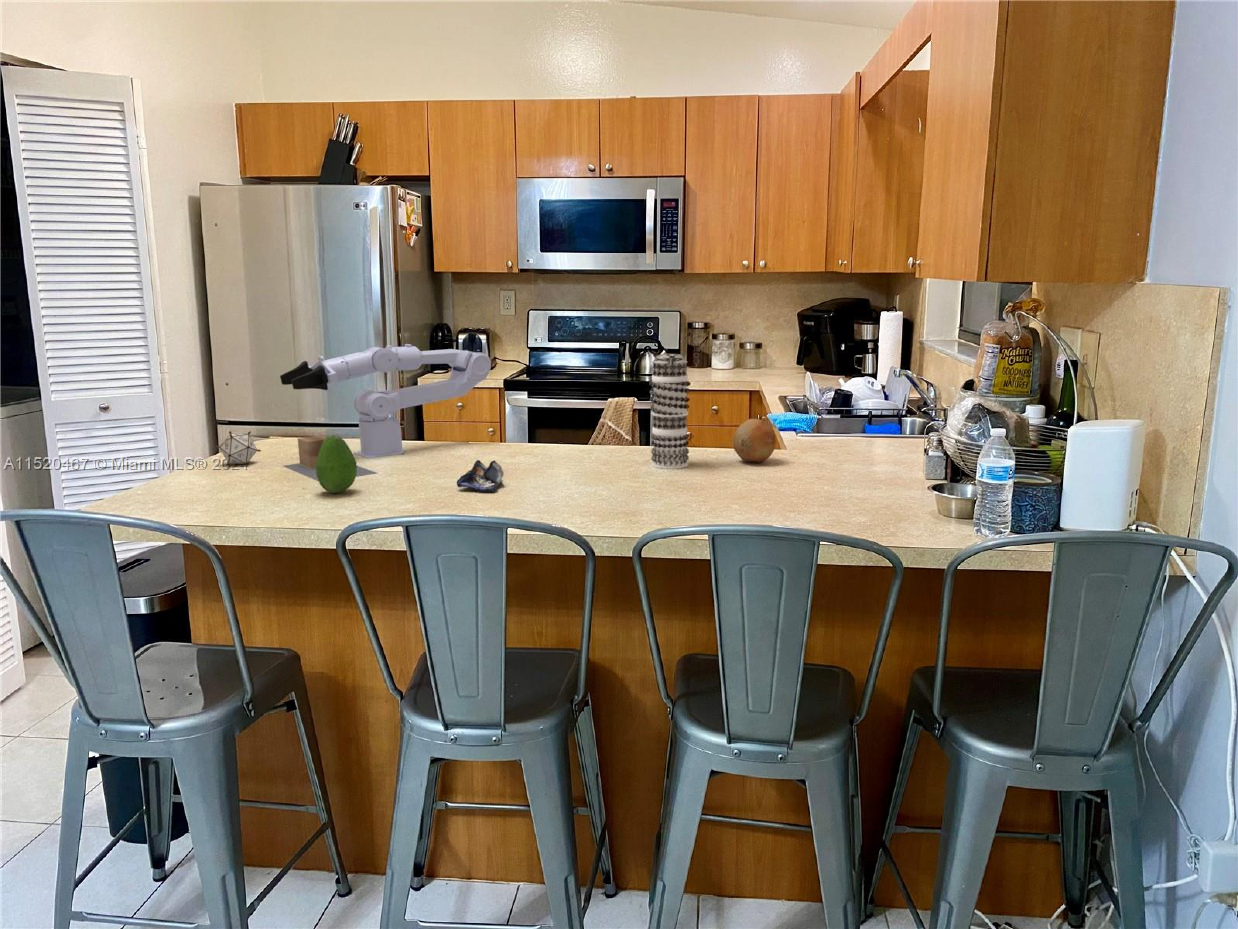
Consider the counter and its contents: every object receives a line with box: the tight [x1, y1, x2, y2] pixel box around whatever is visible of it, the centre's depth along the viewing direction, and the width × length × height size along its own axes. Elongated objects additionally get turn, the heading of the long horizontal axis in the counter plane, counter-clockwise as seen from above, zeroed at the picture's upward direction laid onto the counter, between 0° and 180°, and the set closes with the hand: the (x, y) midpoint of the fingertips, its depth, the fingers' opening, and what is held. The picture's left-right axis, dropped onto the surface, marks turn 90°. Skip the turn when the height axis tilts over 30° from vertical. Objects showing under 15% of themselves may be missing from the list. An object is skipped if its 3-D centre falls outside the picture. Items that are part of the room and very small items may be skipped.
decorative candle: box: [648, 353, 692, 470], centre depth 204 cm, size 9×9×25 cm
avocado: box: [316, 434, 358, 494], centre depth 183 cm, size 8×8×12 cm
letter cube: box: [297, 434, 327, 469], centre depth 209 cm, size 6×6×6 cm
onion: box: [732, 418, 777, 464], centre depth 207 cm, size 10×10×10 cm
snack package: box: [456, 459, 505, 494], centre depth 188 cm, size 12×6×12 cm
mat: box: [282, 462, 378, 482], centre depth 205 cm, size 13×23×1 cm, turn 40°
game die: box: [215, 430, 262, 467], centre depth 211 cm, size 9×8×10 cm
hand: (286, 382), depth 206 cm, fingers open, 7 cm apart
